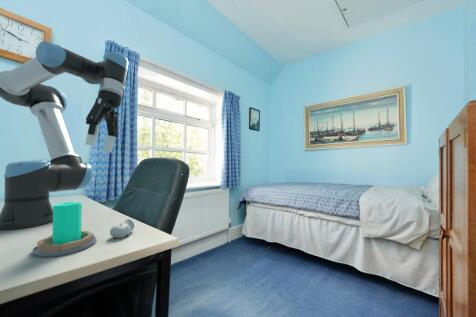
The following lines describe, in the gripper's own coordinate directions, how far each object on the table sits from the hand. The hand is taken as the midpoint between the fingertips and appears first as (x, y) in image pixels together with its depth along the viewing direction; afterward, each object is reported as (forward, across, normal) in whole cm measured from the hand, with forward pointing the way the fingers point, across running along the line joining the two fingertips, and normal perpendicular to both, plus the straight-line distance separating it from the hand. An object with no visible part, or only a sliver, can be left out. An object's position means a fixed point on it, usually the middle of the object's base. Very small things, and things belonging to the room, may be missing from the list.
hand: (99, 148), depth 75 cm
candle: (+29, -16, -4) cm, 33 cm away
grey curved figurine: (+27, -9, -16) cm, 33 cm away
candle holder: (+29, -16, -4) cm, 33 cm away
